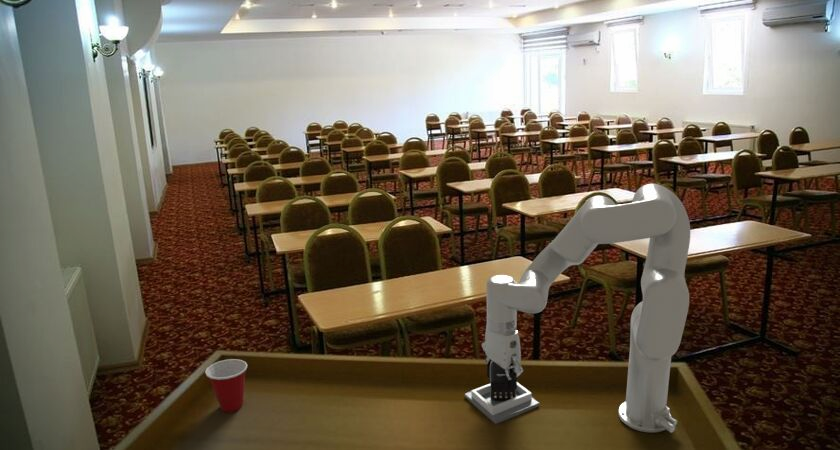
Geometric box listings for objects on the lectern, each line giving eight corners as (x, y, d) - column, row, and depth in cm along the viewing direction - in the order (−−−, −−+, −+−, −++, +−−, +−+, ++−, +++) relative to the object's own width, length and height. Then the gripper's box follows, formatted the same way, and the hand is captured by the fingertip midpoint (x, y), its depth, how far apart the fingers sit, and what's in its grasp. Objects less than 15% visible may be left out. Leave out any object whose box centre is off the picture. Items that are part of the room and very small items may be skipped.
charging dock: (539, 406, 163) (539, 396, 162) (495, 424, 156) (495, 414, 155) (506, 381, 174) (506, 371, 173) (464, 396, 168) (464, 387, 167)
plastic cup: (258, 394, 173) (253, 356, 169) (244, 418, 163) (238, 378, 159) (221, 393, 174) (214, 356, 170) (204, 417, 164) (197, 377, 160)
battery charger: (490, 403, 163) (490, 365, 160) (489, 394, 167) (489, 357, 163) (517, 403, 163) (517, 365, 159) (516, 394, 166) (516, 357, 163)
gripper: (535, 332, 152) (534, 394, 158) (493, 306, 167) (493, 364, 173) (510, 341, 149) (510, 404, 155) (470, 313, 163) (471, 372, 169)
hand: (501, 382), depth 164 cm, fingers open, 7 cm apart
